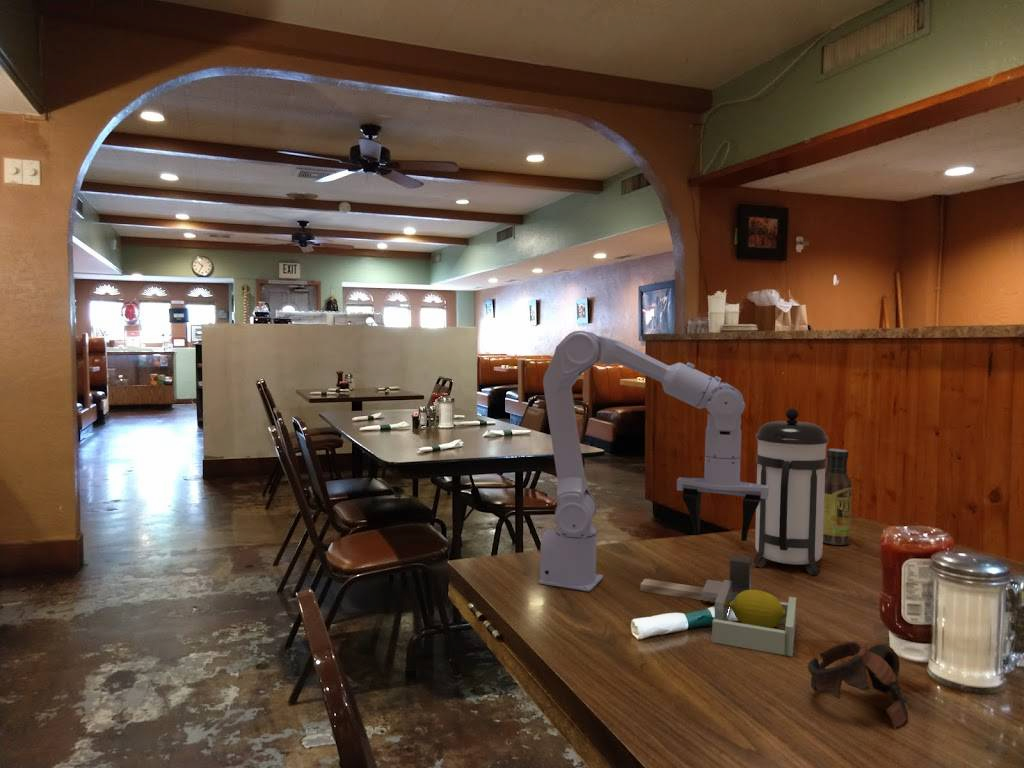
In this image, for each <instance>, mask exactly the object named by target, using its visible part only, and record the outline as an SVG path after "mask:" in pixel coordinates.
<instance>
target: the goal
mask: <svg viewBox="0 0 1024 768" xmlns="http://www.w3.org/2000/svg"><path fill="white" fill-rule="evenodd" d="M787 601H788V602H784V601H779V602H780V603H781V605H782V607H783V610H784V611H785V612H786V616H785V617H784V618H783V619H782V620H781V622H780V623H779V624H780V625H785V627H784V628H785V629H784V630H783V629H779V628H766V627H760V626H754V625H748V624H742V623H740V622H735V621H729V620H727V621H724V620H718V619H715V618H713V619H712V623H711V628H712V630H711V632H712V633H711V643H715V644H719V645H720V644H721V645H727V646H731V647H737V648H741V649H742V648H744V649H749V650H753V651H759V652H765V653H771V654H776V655H782V656H786V657H793V656H794V644H795V643H794V642H795V635H796V634H795V633H796V624H797V623H796V622H797V621H796V620H797V619H796V615H797V597H794V596H788V600H787ZM779 624H778V625H779Z"/></svg>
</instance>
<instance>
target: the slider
mask: <svg viewBox="0 0 1024 768" xmlns="http://www.w3.org/2000/svg"><path fill="white" fill-rule="evenodd" d="M752 559H753V558H752V557H749V556H742V555H735V554H733V555H732V556H731V557H730V560H729V580H728V579H724V580H722V581H720V580H714V579H707V580H706V582H705V584H704V586H703V587H704V588H703V590H702V596H705V597H712V598H716V601H715V603H714V619H718V620H724V621H728V618H727V613H728V609H729V603H730V602H732V601H733V600H734V599H735V598H736V596H737V595H738V594H739V593H741V592H743V591H745V590H752Z"/></svg>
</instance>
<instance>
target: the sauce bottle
mask: <svg viewBox="0 0 1024 768" xmlns="http://www.w3.org/2000/svg"><path fill="white" fill-rule="evenodd" d="M826 457H827V467H826V470H827V471H825V493H824V524H823V544H824V543H825V544H829V545H834V546H843V545H844V546H845V545H848V544H849V542H850V536H851V524H852V523H851V519H852V505H853V483H852V479H851V478H850V476H849V474H848V473H847V471H848V468H847V467H848V459H849V450H846V449H842V448H828V449H827V451H826Z"/></svg>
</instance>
